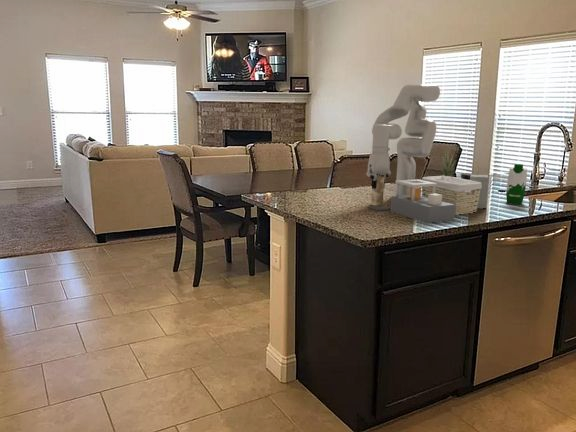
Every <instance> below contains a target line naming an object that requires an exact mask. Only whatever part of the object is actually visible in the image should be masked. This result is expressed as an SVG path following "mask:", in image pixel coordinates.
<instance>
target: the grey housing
mask: <svg viewBox="0 0 576 432" xmlns="http://www.w3.org/2000/svg"><path fill="white" fill-rule="evenodd" d="M396 180H397V179H396ZM396 180H395V182H394V183H395V194H396V196H393V195H391V198H390V210H389V211H390V212H391V213H394V214H397V213H398V215H400V214H401V216H403V217H408V218H410V219H413V220H416V221H419V220H420V221H419V222H422V221H423V223H425V222H426V224H433V223H432V222H437V223H441V222H440V221H447V222H453V221H452V220H454V221H455V216H456V215H455V204H451V203H447V202H443V201H442V203H441V204H440V205H432V204H428V198H427V197H423V196H422V195H421V197H420V200H414V199H415V187H421V188H422V187H423V186H433V189H432V194H435V187H436V186H437V183H433V182H429V181H424V180H422V179H418V178H415V180H397V181H396ZM396 183H397V185H396ZM399 184H403V185H407V186H411V187H412V200H411V199H409V197H410V195H404V196H399Z"/></svg>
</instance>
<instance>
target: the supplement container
mask: <svg viewBox="0 0 576 432" xmlns="http://www.w3.org/2000/svg"><path fill="white" fill-rule="evenodd" d="M470 175H480V174H478V173H472V172H462V173H461V174H460V179H466V180H470Z"/></svg>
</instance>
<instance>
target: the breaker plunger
mask: <svg viewBox="0 0 576 432" xmlns="http://www.w3.org/2000/svg"><path fill="white" fill-rule="evenodd" d="M421 196H422V187H415V199H414V200H420V197H421ZM409 199H411V200H412V187H410V197H409Z"/></svg>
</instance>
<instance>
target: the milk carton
mask: <svg viewBox="0 0 576 432" xmlns="http://www.w3.org/2000/svg"><path fill="white" fill-rule="evenodd" d="M507 175H508V176H507V181H506V182H507V184H506V192H505V193H506V196H505V197H506V204H507V203H512V204H511V205H519V204H521V205H522V204H523V201H524V198H525V194H526V187H527V176H528V170H527V168H526V167H524V164H523V163H521V164H520V163H514V166H513V167H512V166H510V167H509V171H508V174H507Z"/></svg>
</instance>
